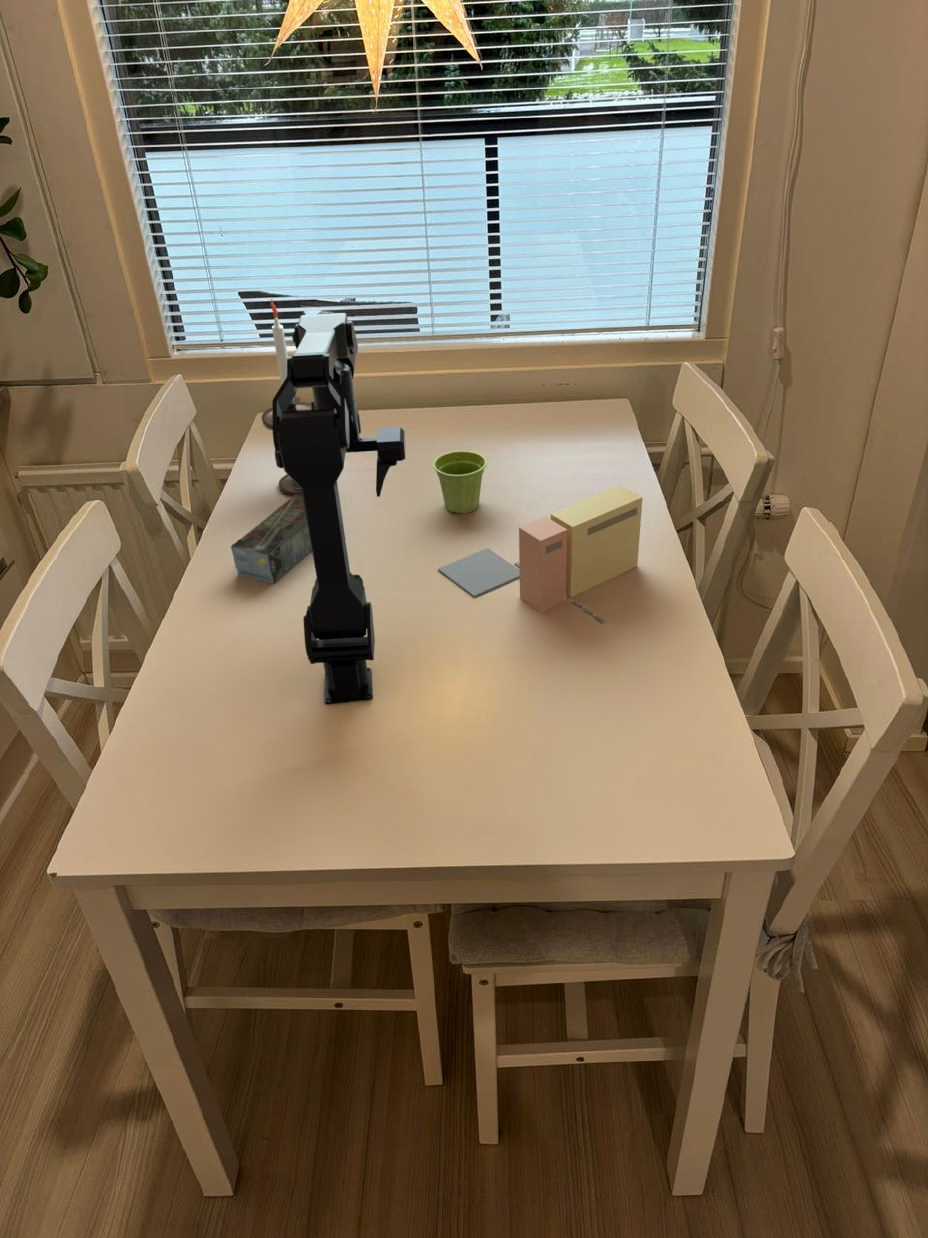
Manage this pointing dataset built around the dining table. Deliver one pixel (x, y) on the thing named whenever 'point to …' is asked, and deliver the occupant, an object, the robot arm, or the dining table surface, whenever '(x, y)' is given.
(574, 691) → the dining table surface
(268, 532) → the beverage carton
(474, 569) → the coaster
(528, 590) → the stub
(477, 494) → the plant pot
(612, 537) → the block
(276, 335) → the candlestick
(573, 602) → the perforation marks
